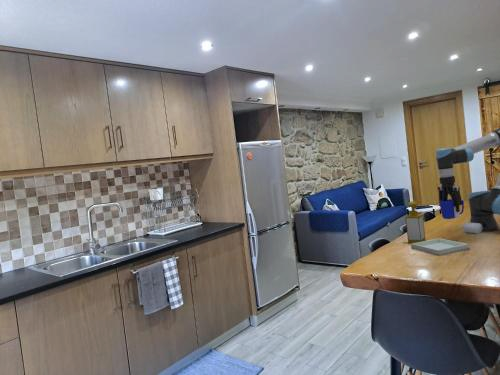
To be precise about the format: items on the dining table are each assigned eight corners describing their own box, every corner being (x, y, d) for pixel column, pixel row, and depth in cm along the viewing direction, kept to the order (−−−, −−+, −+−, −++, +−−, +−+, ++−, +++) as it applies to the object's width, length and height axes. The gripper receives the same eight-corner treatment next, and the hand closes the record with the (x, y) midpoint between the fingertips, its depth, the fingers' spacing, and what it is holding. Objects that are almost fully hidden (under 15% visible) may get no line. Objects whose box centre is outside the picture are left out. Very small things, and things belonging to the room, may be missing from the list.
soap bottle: (428, 239, 212) (424, 199, 211) (421, 244, 203) (416, 202, 202) (415, 238, 217) (411, 199, 216) (408, 243, 208) (403, 202, 207)
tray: (439, 242, 200) (439, 238, 200) (469, 249, 181) (468, 244, 180) (411, 248, 196) (410, 243, 196) (438, 255, 177) (437, 250, 177)
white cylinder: (476, 222, 208) (463, 221, 216) (474, 232, 208) (461, 231, 215) (483, 224, 211) (470, 223, 218) (481, 234, 210) (468, 233, 217)
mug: (468, 217, 195) (465, 199, 195) (444, 220, 198) (441, 202, 198) (462, 215, 204) (460, 197, 203) (439, 218, 206) (437, 200, 206)
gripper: (428, 177, 210) (433, 216, 210) (454, 176, 190) (460, 220, 191) (439, 175, 211) (444, 214, 212) (466, 174, 192) (472, 217, 193)
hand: (452, 217), depth 202 cm, fingers closed on mug, 7 cm apart
